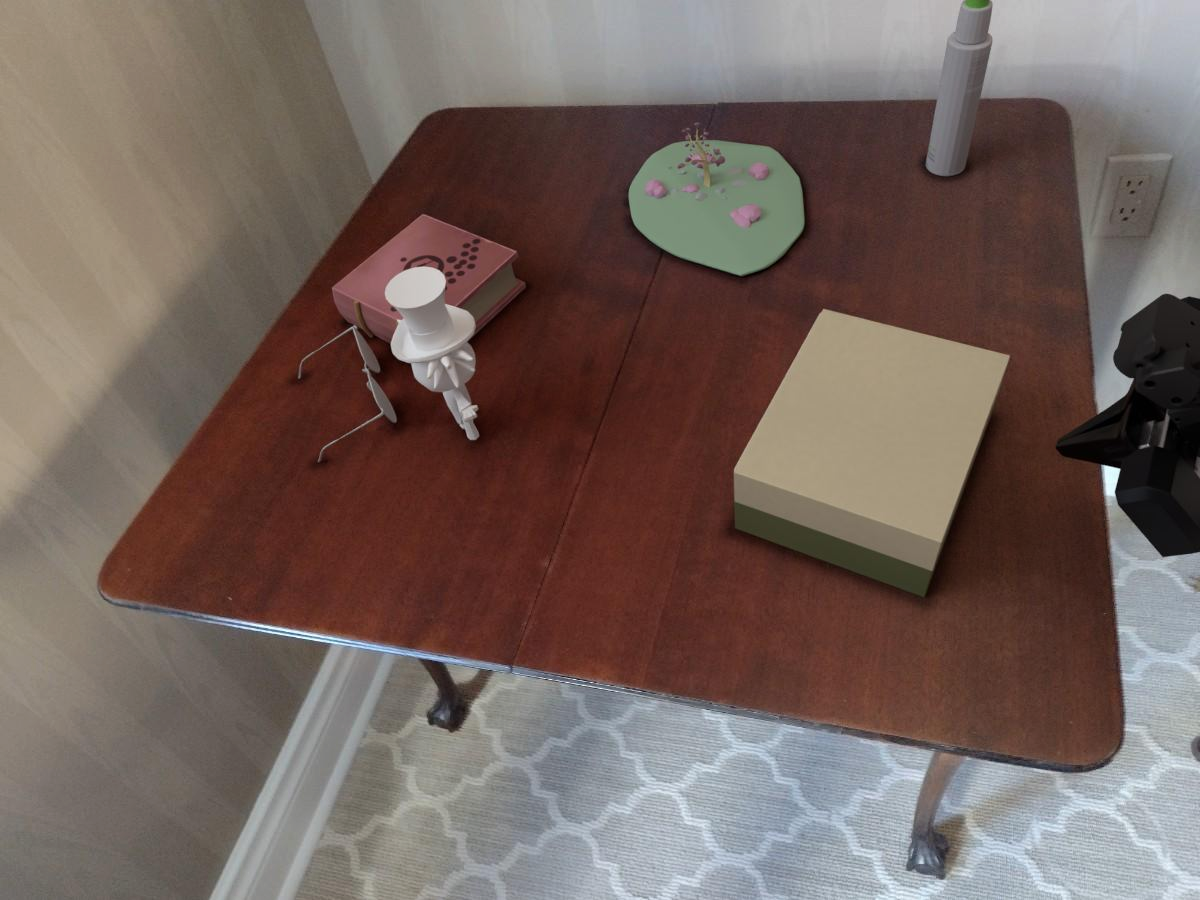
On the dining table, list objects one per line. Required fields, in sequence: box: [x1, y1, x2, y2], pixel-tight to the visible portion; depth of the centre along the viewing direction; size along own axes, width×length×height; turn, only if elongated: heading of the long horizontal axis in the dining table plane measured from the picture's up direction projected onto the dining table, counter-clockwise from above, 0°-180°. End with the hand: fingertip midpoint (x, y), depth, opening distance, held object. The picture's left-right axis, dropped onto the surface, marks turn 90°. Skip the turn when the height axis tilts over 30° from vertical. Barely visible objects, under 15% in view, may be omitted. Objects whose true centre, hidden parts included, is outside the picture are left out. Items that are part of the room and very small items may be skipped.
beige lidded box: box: [733, 308, 1011, 598], centre depth 74 cm, size 16×20×8 cm
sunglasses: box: [297, 325, 398, 463], centre depth 90 cm, size 14×8×5 cm, turn 22°
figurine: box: [385, 267, 480, 441], centre depth 80 cm, size 10×8×18 cm
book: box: [331, 213, 527, 344], centre depth 97 cm, size 14×15×5 cm
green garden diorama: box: [628, 121, 805, 277], centre depth 100 cm, size 25×21×9 cm
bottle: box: [925, 0, 994, 177], centre depth 95 cm, size 4×4×20 cm
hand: (1059, 448), depth 65 cm, fingers closed
